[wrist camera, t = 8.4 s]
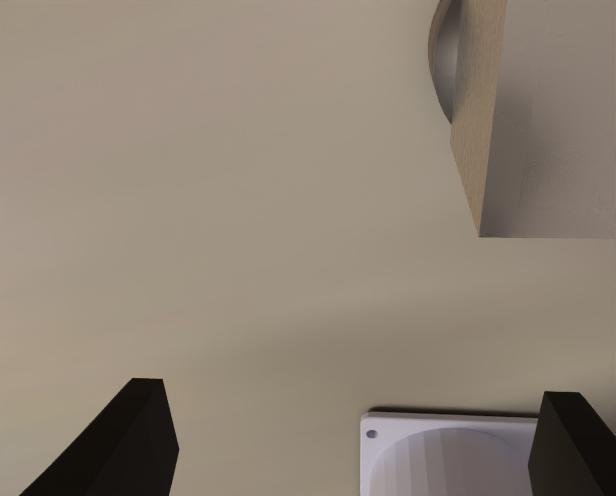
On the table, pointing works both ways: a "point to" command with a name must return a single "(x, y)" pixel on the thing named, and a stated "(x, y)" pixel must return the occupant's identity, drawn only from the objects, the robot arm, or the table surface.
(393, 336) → the table surface
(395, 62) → the table surface
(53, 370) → the table surface
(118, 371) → the table surface
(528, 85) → the white wooden cube
